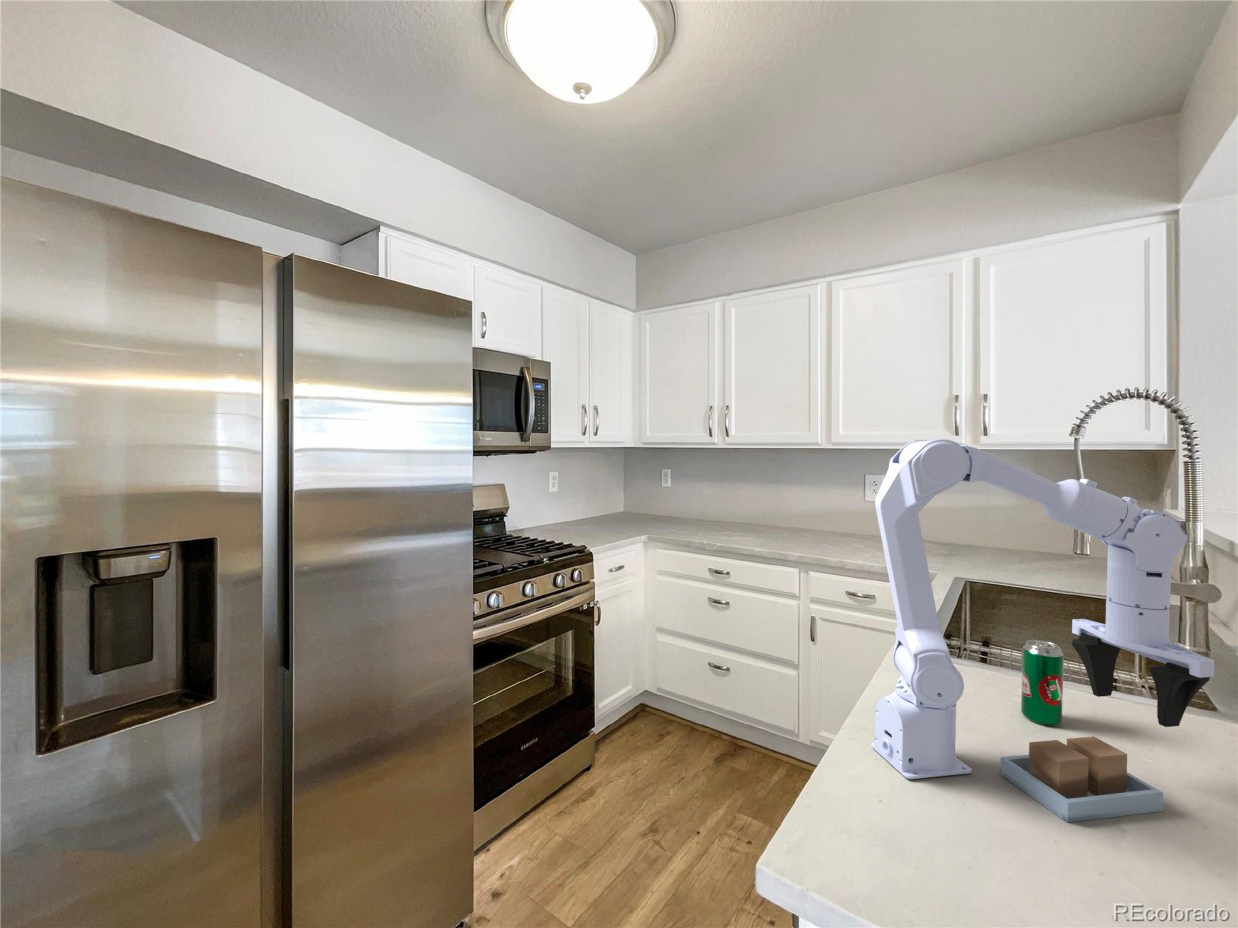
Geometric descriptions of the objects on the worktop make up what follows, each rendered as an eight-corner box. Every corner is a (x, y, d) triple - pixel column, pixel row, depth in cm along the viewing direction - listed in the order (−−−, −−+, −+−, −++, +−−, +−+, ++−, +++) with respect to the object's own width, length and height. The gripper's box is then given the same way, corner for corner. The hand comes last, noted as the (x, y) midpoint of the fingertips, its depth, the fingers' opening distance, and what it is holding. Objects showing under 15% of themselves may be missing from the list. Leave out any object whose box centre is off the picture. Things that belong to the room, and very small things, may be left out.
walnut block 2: (1126, 793, 65) (1127, 753, 65) (1097, 796, 64) (1099, 756, 64) (1092, 773, 69) (1093, 736, 69) (1065, 776, 68) (1066, 738, 68)
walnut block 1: (1087, 798, 64) (1088, 757, 64) (1058, 801, 63) (1059, 760, 63) (1055, 777, 68) (1056, 739, 68) (1028, 780, 67) (1029, 742, 67)
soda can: (1021, 708, 87) (1023, 636, 87) (1061, 718, 84) (1063, 643, 84) (1020, 720, 83) (1022, 645, 83) (1062, 731, 80) (1064, 653, 80)
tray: (1067, 822, 61) (1067, 802, 61) (1000, 774, 70) (1000, 757, 70) (1162, 810, 63) (1163, 791, 63) (1085, 765, 72) (1085, 748, 71)
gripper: (1238, 620, 60) (1233, 737, 60) (1103, 586, 74) (1100, 681, 75) (1186, 623, 59) (1182, 742, 59) (1060, 588, 73) (1057, 685, 74)
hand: (1133, 709), depth 67 cm, fingers open, 7 cm apart
